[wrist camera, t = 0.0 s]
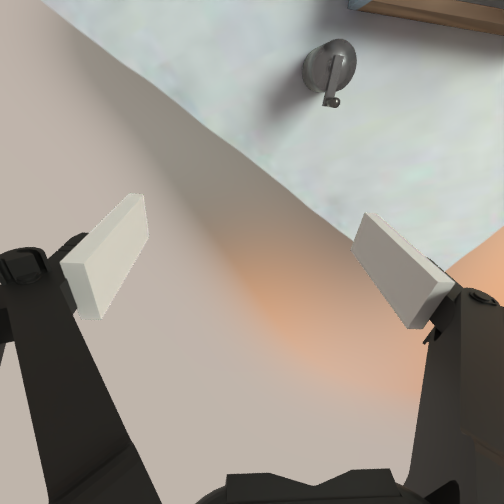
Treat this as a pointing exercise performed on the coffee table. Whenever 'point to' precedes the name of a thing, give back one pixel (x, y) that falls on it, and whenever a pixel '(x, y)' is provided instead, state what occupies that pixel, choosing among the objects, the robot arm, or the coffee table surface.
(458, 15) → the bay
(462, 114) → the coffee table surface
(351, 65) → the winch drum
